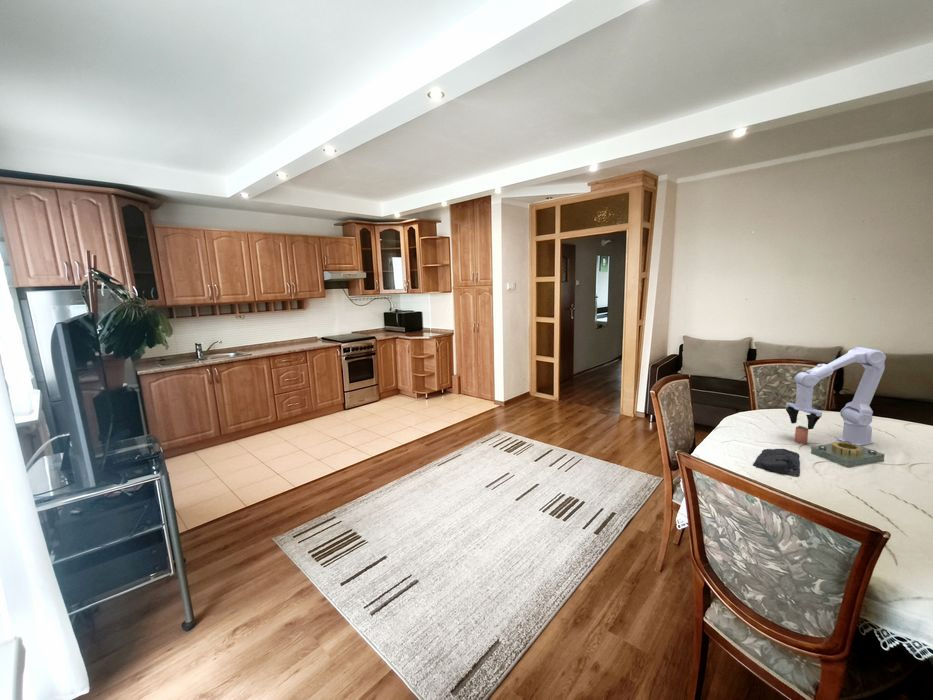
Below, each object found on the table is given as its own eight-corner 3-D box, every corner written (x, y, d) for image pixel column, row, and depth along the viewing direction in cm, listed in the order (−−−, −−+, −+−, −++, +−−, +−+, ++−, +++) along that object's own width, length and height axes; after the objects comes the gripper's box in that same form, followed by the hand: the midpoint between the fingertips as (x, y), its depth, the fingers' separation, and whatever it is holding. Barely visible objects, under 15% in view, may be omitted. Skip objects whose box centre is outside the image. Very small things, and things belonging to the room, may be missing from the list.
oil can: (800, 439, 177) (801, 423, 176) (809, 443, 173) (811, 426, 172) (792, 440, 177) (793, 424, 175) (801, 444, 172) (803, 428, 171)
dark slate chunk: (806, 459, 160) (806, 449, 159) (798, 479, 146) (799, 468, 145) (761, 450, 171) (762, 440, 171) (750, 468, 157) (751, 457, 156)
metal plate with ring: (844, 447, 167) (845, 436, 166) (883, 461, 153) (885, 449, 152) (811, 453, 164) (811, 442, 163) (847, 467, 151) (848, 456, 150)
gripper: (781, 395, 178) (779, 421, 180) (813, 403, 164) (811, 432, 166) (793, 393, 179) (791, 419, 181) (827, 401, 165) (824, 430, 167)
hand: (802, 425), depth 174 cm, fingers open, 7 cm apart
